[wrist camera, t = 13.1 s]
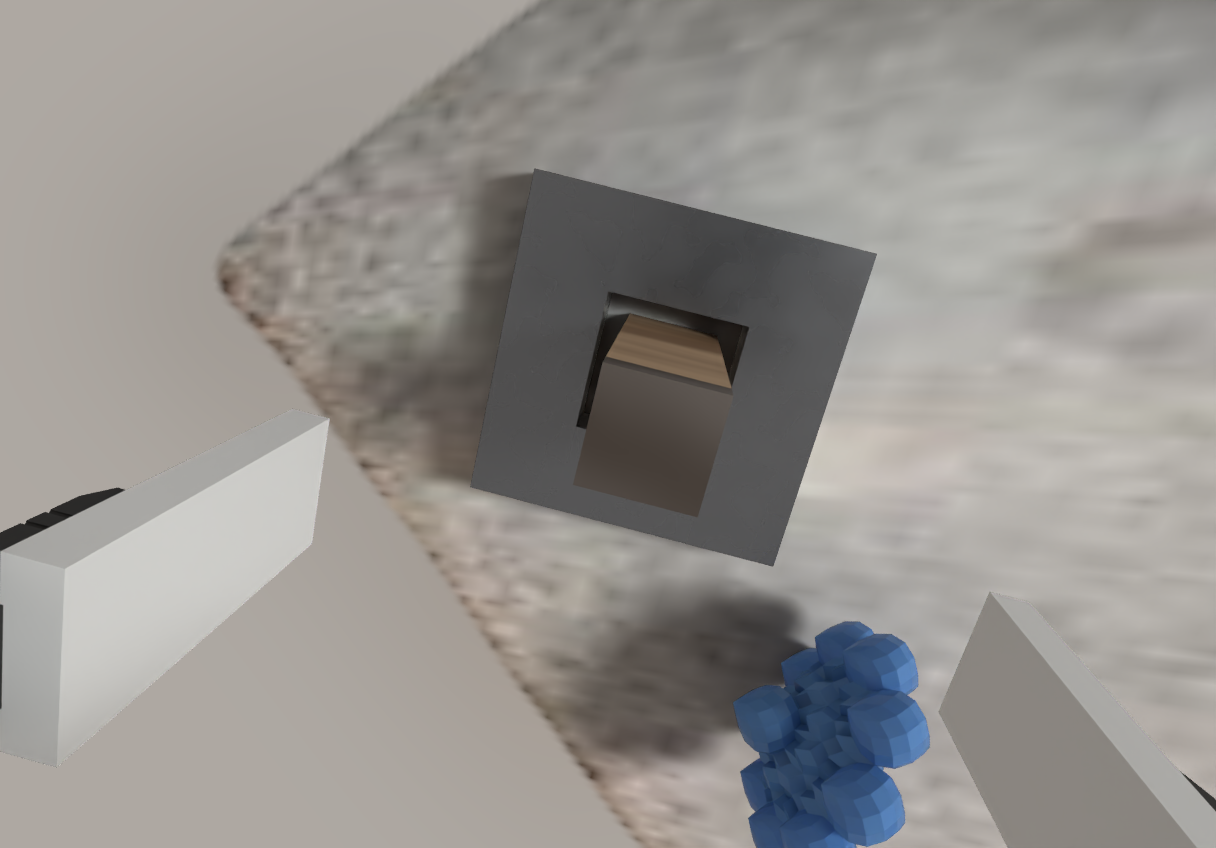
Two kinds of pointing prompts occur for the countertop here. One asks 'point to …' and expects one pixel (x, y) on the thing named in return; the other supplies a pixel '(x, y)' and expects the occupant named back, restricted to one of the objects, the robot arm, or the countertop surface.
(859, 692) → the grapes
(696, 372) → the wooden block
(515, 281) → the gray square hole plate
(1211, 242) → the countertop surface
